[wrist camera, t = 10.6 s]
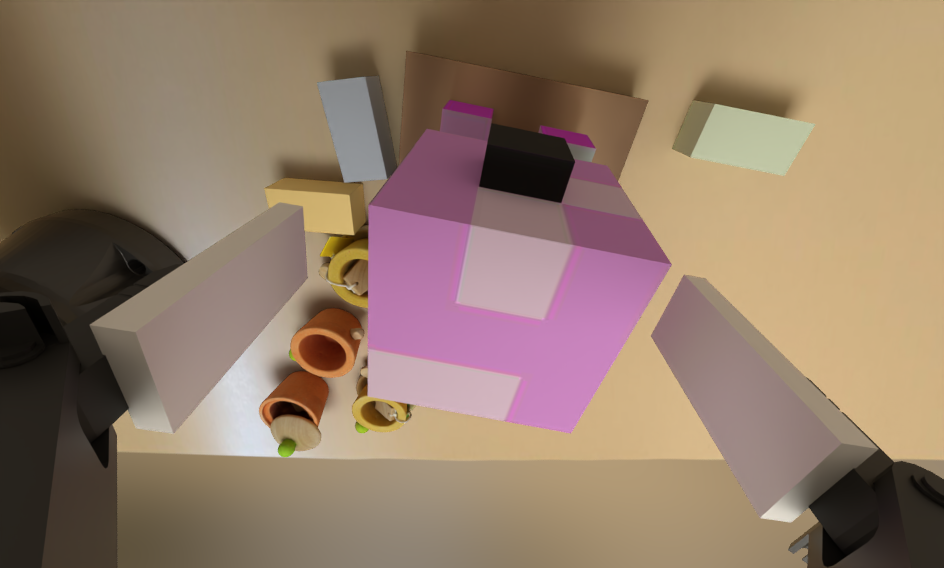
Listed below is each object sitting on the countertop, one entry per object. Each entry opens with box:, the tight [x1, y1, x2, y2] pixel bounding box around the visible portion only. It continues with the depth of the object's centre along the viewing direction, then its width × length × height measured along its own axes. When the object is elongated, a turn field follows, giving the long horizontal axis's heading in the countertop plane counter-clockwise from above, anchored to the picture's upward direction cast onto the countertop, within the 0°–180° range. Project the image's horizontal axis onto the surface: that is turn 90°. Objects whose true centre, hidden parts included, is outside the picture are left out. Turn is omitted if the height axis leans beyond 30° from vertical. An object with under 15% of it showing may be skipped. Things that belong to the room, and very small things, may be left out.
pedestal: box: [398, 51, 648, 181], centre depth 25 cm, size 14×12×3 cm
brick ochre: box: [264, 178, 366, 235], centre depth 27 cm, size 6×3×3 cm, turn 87°
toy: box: [368, 100, 672, 433], centre depth 18 cm, size 11×8×15 cm
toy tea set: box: [259, 225, 416, 457], centre depth 32 cm, size 26×16×10 cm, turn 147°
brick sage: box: [672, 100, 815, 176], centre depth 23 cm, size 6×3×3 cm, turn 80°
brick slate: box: [317, 76, 397, 183], centre depth 25 cm, size 6×3×3 cm, turn 6°
